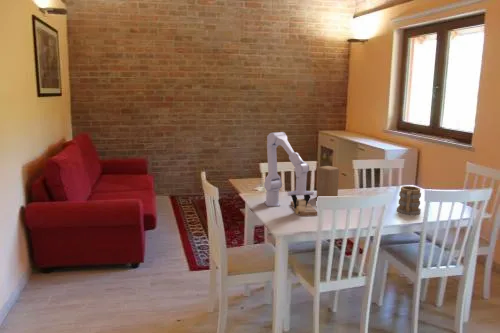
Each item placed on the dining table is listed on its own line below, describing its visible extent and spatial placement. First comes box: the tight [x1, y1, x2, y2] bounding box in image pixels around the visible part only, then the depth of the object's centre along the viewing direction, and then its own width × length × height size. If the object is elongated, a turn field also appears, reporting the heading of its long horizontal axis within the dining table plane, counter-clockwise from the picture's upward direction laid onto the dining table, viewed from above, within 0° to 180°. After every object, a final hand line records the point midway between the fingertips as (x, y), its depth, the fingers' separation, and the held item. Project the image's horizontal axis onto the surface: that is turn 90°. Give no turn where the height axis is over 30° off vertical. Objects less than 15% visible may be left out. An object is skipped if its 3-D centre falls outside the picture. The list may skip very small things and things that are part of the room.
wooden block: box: [316, 165, 340, 198], centre depth 284 cm, size 10×10×20 cm
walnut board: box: [290, 200, 318, 217], centre depth 260 cm, size 22×10×2 cm, turn 8°
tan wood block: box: [294, 198, 306, 215], centre depth 252 cm, size 5×5×8 cm
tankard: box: [396, 185, 422, 216], centre depth 256 cm, size 20×13×15 cm, turn 152°
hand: (300, 207), depth 252 cm, fingers closed on tan wood block, 5 cm apart
